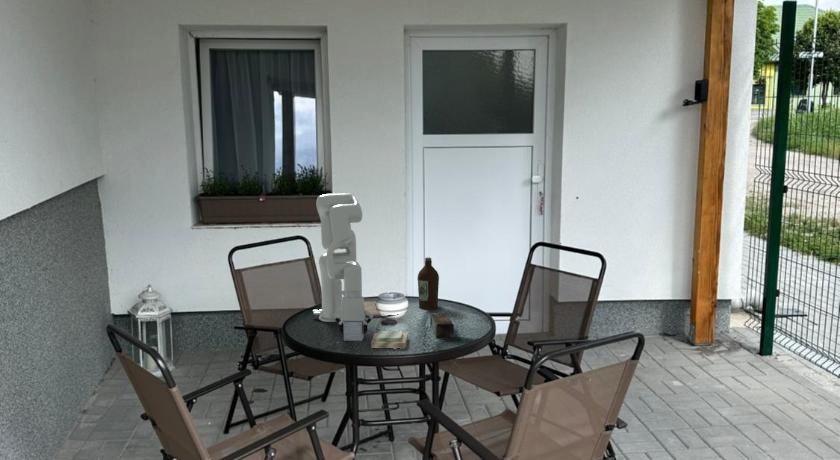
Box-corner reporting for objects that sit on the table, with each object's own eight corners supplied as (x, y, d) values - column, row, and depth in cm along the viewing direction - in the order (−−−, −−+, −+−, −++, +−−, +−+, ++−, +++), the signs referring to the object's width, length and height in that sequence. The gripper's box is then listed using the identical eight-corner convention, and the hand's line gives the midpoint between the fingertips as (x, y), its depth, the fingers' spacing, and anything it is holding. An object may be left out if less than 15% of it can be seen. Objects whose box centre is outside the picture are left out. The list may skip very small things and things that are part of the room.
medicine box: (363, 338, 315) (363, 318, 314) (361, 341, 311) (361, 321, 309) (345, 337, 316) (345, 318, 315) (343, 340, 311) (343, 321, 310)
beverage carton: (447, 325, 335) (447, 311, 334) (454, 338, 316) (454, 323, 315) (429, 326, 334) (429, 312, 333) (436, 338, 315) (436, 324, 314)
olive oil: (428, 303, 374) (427, 255, 370) (443, 307, 367) (443, 257, 363) (413, 307, 367) (413, 258, 363) (428, 311, 359) (428, 260, 356)
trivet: (339, 310, 363) (339, 306, 363) (381, 302, 378) (381, 298, 377) (366, 321, 343) (366, 317, 343) (410, 312, 358) (410, 308, 358)
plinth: (371, 348, 301) (371, 339, 300) (375, 338, 315) (375, 329, 314) (405, 349, 300) (405, 339, 299) (407, 338, 314) (407, 329, 313)
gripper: (331, 295, 307) (332, 335, 310) (372, 296, 306) (372, 335, 309) (334, 291, 315) (335, 330, 317) (374, 292, 313) (374, 330, 316)
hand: (353, 333), depth 313 cm, fingers open, 9 cm apart
